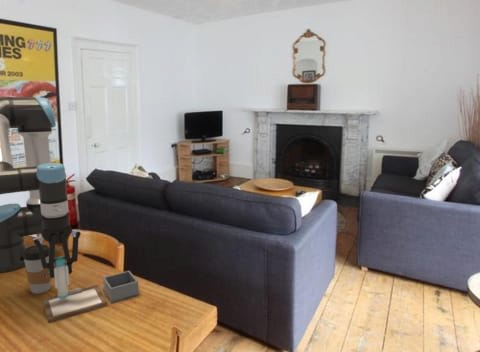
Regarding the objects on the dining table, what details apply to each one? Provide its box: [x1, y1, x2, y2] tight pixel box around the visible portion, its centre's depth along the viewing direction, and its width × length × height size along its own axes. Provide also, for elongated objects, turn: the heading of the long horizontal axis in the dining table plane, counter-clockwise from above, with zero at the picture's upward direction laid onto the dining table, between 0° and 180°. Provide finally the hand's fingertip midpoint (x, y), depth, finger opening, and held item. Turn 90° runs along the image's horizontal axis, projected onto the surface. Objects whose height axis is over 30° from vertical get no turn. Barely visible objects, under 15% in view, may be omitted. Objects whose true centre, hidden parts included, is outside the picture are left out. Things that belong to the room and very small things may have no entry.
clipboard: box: [42, 284, 108, 324], centre depth 117 cm, size 13×17×2 cm
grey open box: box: [102, 270, 140, 304], centre depth 124 cm, size 9×9×5 cm
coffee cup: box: [23, 244, 52, 295], centre depth 124 cm, size 8×8×15 cm
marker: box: [54, 255, 69, 299], centre depth 115 cm, size 3×3×13 cm
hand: (62, 284), depth 116 cm, fingers closed on marker, 2 cm apart
